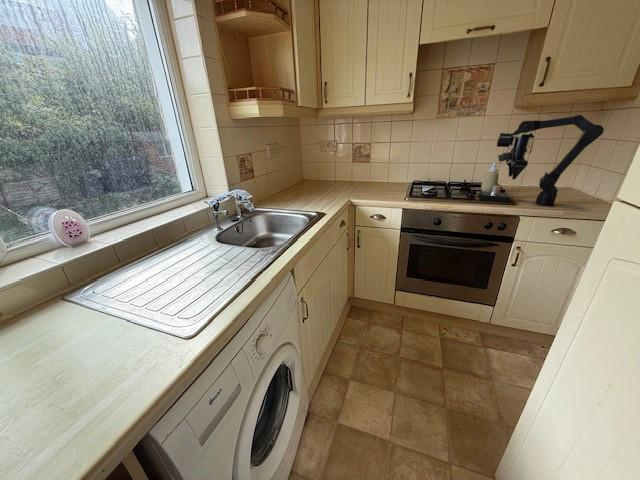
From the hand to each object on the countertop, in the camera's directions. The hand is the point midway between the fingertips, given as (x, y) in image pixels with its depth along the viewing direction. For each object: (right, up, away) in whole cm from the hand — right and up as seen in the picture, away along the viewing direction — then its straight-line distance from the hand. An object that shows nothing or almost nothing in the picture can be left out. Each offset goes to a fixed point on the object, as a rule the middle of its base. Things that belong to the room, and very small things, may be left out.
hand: (511, 177), depth 140 cm
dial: (-7, -8, +4) cm, 11 cm away
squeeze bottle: (-1, -5, +19) cm, 19 cm away
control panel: (-7, -11, +5) cm, 14 cm away
